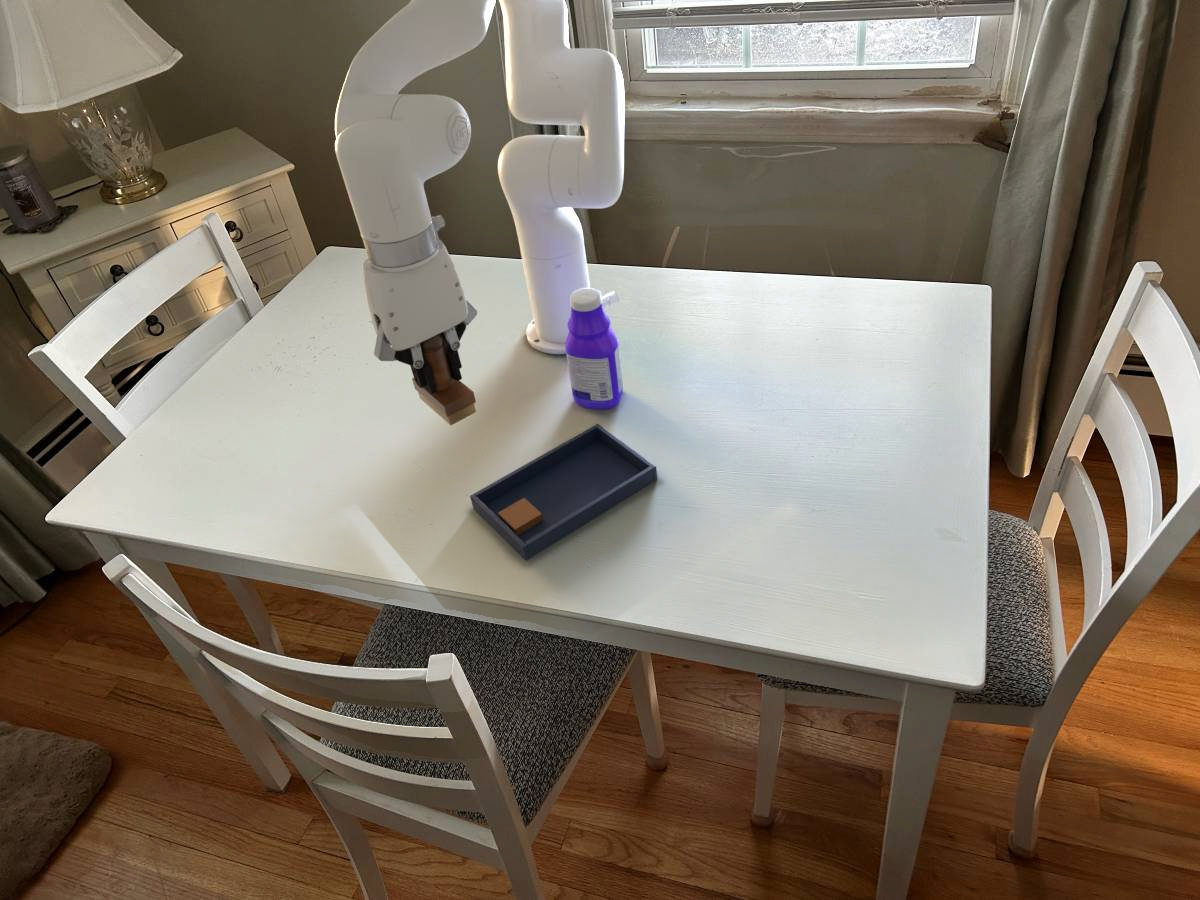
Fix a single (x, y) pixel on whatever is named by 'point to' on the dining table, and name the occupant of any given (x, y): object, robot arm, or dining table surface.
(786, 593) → the dining table surface
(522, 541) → the tray
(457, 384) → the wooden stamp
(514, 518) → the brown square tile
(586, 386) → the bottle
